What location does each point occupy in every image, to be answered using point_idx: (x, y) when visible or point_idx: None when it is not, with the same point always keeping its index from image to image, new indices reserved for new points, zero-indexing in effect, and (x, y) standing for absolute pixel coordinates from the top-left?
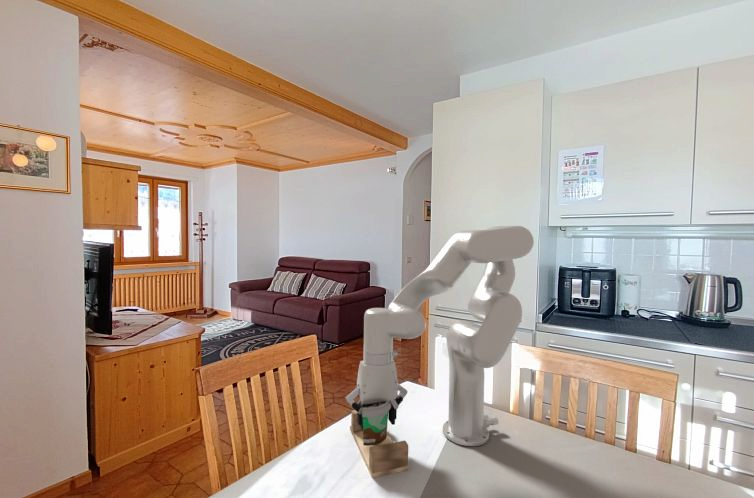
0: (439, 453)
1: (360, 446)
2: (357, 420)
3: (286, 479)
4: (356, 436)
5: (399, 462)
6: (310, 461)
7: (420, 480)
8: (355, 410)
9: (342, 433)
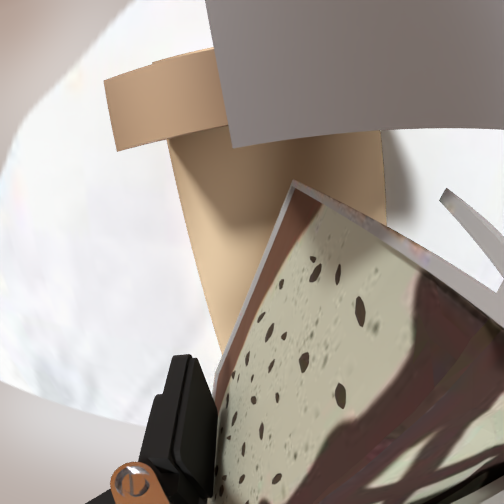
0: None
1: (206, 283)
2: (155, 409)
3: (10, 360)
4: (186, 185)
5: None
6: (29, 307)
7: None
8: (143, 84)
9: None
